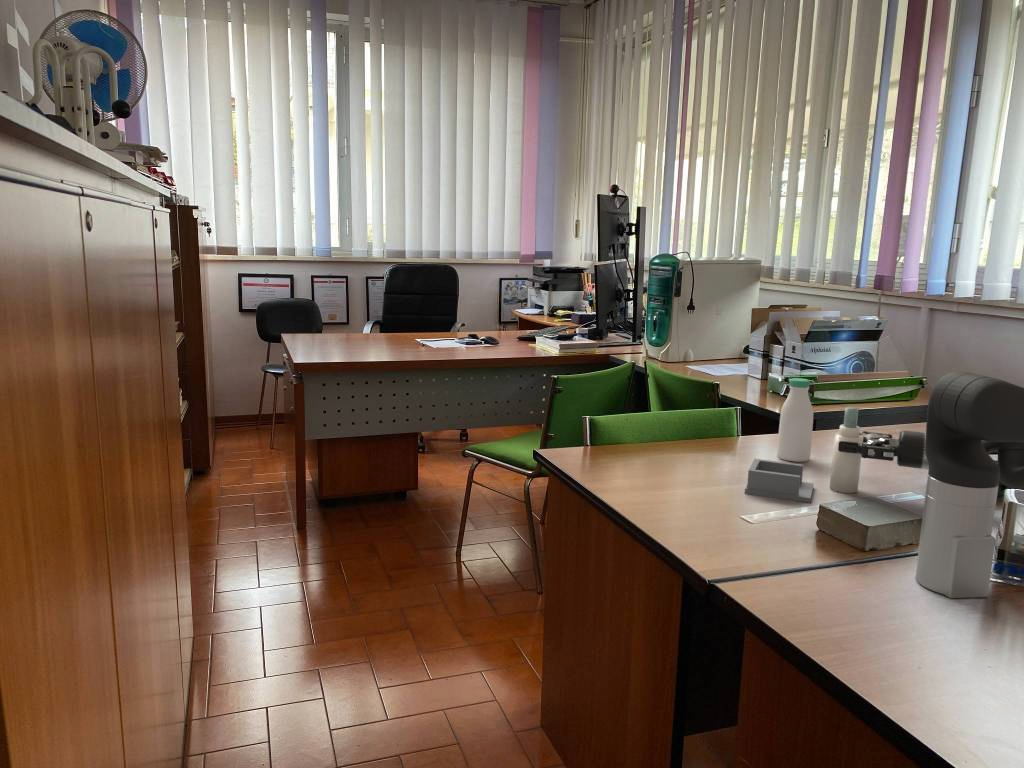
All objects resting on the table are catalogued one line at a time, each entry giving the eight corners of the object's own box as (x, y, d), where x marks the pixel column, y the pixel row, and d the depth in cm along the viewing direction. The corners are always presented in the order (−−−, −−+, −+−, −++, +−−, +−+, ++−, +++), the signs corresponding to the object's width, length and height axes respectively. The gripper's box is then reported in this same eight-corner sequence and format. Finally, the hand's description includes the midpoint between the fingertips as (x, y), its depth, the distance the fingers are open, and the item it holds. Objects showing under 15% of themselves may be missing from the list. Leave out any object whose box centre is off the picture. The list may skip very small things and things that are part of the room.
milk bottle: (812, 463, 180) (819, 382, 177) (779, 461, 182) (785, 381, 178) (806, 455, 188) (813, 377, 184) (774, 453, 189) (781, 375, 185)
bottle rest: (810, 502, 152) (812, 479, 151) (744, 493, 157) (746, 470, 157) (813, 487, 162) (815, 465, 161) (751, 479, 167) (753, 457, 166)
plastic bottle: (862, 493, 159) (871, 411, 155) (837, 493, 158) (846, 411, 155) (849, 485, 164) (857, 405, 161) (824, 485, 164) (832, 405, 160)
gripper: (924, 477, 148) (836, 466, 154) (919, 459, 160) (838, 450, 167) (929, 441, 146) (839, 431, 153) (923, 425, 159) (841, 417, 166)
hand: (839, 441), depth 160 cm, fingers open, 8 cm apart
